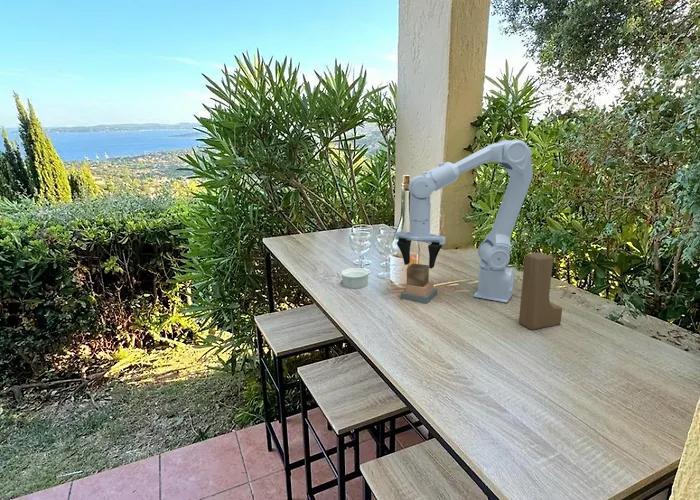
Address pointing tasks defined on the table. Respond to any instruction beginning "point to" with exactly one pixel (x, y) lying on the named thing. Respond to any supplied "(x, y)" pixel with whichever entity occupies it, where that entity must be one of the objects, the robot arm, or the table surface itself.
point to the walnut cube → (418, 275)
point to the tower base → (419, 297)
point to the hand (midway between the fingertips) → (419, 265)
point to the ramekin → (355, 277)
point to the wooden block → (538, 293)
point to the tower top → (420, 289)
